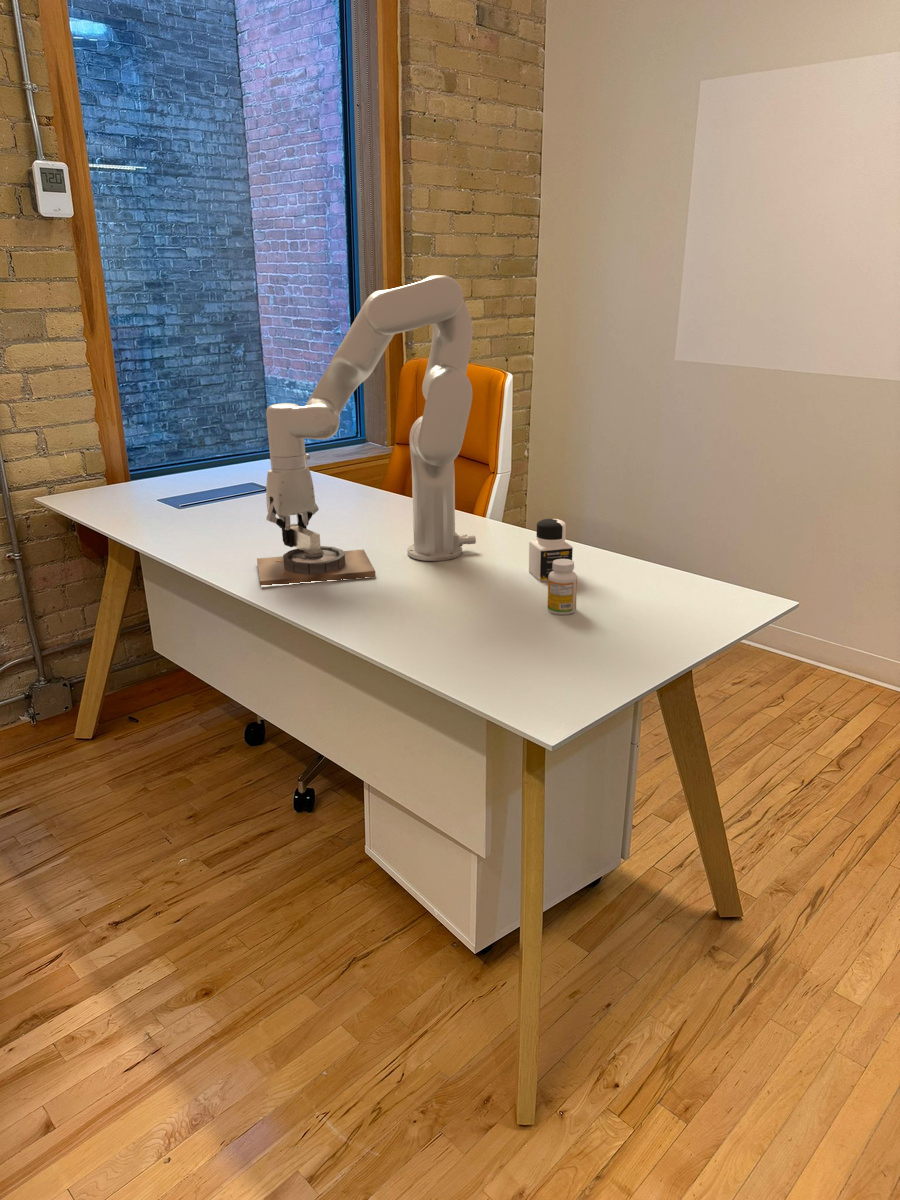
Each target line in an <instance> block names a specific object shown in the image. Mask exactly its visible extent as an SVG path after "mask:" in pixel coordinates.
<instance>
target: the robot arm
mask: <svg viewBox="0 0 900 1200" xmlns="http://www.w3.org/2000/svg"><path fill="white" fill-rule="evenodd" d="M429 325H431V329H432V338H431V344H430V351H429V355H428V359H427V360H428V361H427V365H426V369H425V373H424V377H423V381H422V386H421V391H422V395H423V397H424V400H425V404H424V408H423V415H421V416H420V417H417V419H416V420H415V421H414V423H413V424H412V426H411V428H410V432H409V442H408V443H409V452H410V454H409V455H410V463H411V480H412V482H411V485H412V487H411V488H412V489H411V490H412V491H411V492H412V495H411V496H412V523H413V525H412V526H413V544H410V545H409V546H408V547H407V551H406V552H407V556H409V557H410V558H412V559H415V560H419V561H426V562H438V561H439V562H441V561H449V560H453V559H455V558H458V557H459V556H461V554H462V553H463V547H462V546H463V545H474V544H475V545H476V543H477V540H476V539H477V538H476V535H468V534H467V533H466V534H465V533H464V534H458V533H457V532H456V504H455V503H456V500H455V499H456V496H455V495H456V493H455V492H456V491H455V486H456V484H455V483H456V482H455V481H456V480H455V479H456V478H455V463H454V462H455V460H456V459H457V457H458V456H459V454H460V451H461V449H462V446H463V442H464V438H465V435H466V434H465V433H466V430H467V426H468V421H469V416H470V412H471V408H472V402H473V386H472V383H471V381H470V379H469V377H468V376H467V372H468V366H469V361H470V356H471V349H472V343H473V331H474V330H473V321H472V317H471V314H470V310H469V308H468V305H467V304H466V302H465V300H464V292H463V289H462V287H461V285H460V283H459V282H458V281H457V280H455V278H453V277H451V276H448V275H445V274H444V275H442V274H441V275H440V274H438V275H437V274H433V275H429V276H426V277H425V278H424V279H422V280H420V281H417V282H414V283H411V284H407V285H403V286H398V287H394V288H390V289H381V290H380V289H379V290H376V291H373V293H371V294H370V295H369V296H368V297H367V298H366V300H365V301H364V302H363V305H362V306H361V308H360V310H359V312H358V314H356V317H355V318H354V321H353V322H352V324H351V325H350V326H349V327H350V328H349V329H348V330H347V333H346V334H345V336H344V338H343V339H342V342H341V343H340V344H339V345H338V348H337V350H336V351H335V353H334V354H333V357H332V359H331V360H330V362H329V364H328V366H327V368H326V369H325V370H324V373H323V374H322V376H321V378H320V380H319V381H318V383H317V384H316V386H315V388H314V390H313V391H312V393H311V395H310V397H309V398H308V401H307V402H306V404H305V405H304V406H300V405H299V404H296V403H290V402H289V403H288V402H286V403H285V402H283V403H281V402H280V403H274V404H271V405H268V406H267V408H266V411H265V412H266V413H265V415H266V426H267V436H268V447H269V448H268V449H269V458H270V468H271V469H268V470H267V476H266V486H265V487H266V488H265V491H266V494H265V495H266V497H265V499H266V508H267V509H266V511H267V515H266V519H265V520H266V521H267V522H270V523H272V524H275V525H276V526H278V527H279V528H280V529H281V534H282V535H281V536H282V543H283V544H284V546H285V547H289V548H294V536H293V530H292V529H290V524H291V516H295V515H296V521H297V523H296V524H297V525H298V526H300V527H303V528H305V529H307V527H308V526H309V522H310V520H311V519H312V517H313V516H314V515H316V513H317V512H318V511H319V507H318V505H317V503H316V495H315V487H314V483H313V477H312V473H311V470H310V467H309V466H307V463H308V462H307V461H309V460H310V459H311V455H310V454H309V453H306V445H305V444H306V442H305V439H308V440H309V439H311V440H328V439H330V438H332V437H334V436H335V434H337V432H338V430H339V429H340V428H339V427H340V423H341V421H340V415H341V413H342V412H343V410H344V408H345V406H346V405H347V403H348V401H349V400H350V398H351V396H352V395H353V394H354V392H355V391H356V390H357V388H358V387H359V386H360V385H361V384H362V383H363V382H365V381H366V380H367V379H369V377H370V375H371V374H372V373H373V371H374V370H375V368H376V366H377V365H378V363H379V361H380V359H381V358H382V356H383V355H384V353H385V351H386V349H387V348H388V346H389V344H390V343H391V341H393V337H394V336H395V335H396V334H401V333H404V332H408V331H413V330H416V329H419V328H423V327H427V326H429ZM276 515H277V516H278V517H277V516H276Z"/></svg>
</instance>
